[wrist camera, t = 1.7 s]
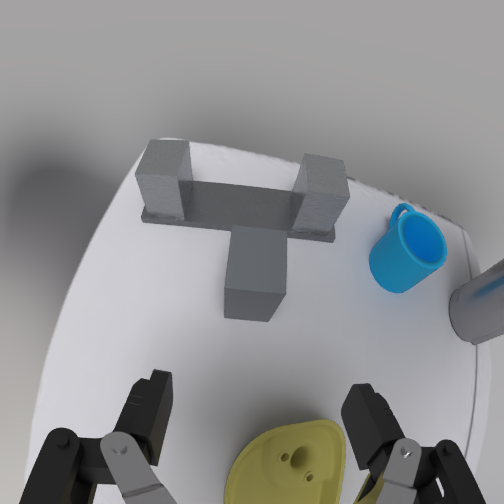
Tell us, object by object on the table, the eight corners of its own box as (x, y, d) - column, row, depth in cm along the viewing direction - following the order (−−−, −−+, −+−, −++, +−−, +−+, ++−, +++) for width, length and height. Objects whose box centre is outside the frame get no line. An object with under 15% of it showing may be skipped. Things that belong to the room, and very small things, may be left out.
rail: (328, 202, 40) (349, 159, 32) (332, 242, 37) (358, 202, 29) (155, 183, 39) (144, 137, 31) (142, 222, 36) (125, 177, 28)
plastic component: (328, 549, 16) (255, 577, 11) (289, 529, 22) (221, 546, 17) (350, 413, 24) (271, 425, 19) (303, 407, 29) (229, 411, 25)
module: (270, 272, 34) (287, 229, 25) (267, 321, 31) (286, 293, 22) (229, 268, 34) (232, 223, 25) (224, 317, 31) (224, 287, 22)
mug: (416, 295, 35) (452, 272, 27) (370, 290, 34) (402, 264, 27) (406, 226, 40) (433, 196, 33) (364, 216, 40) (387, 182, 33)
